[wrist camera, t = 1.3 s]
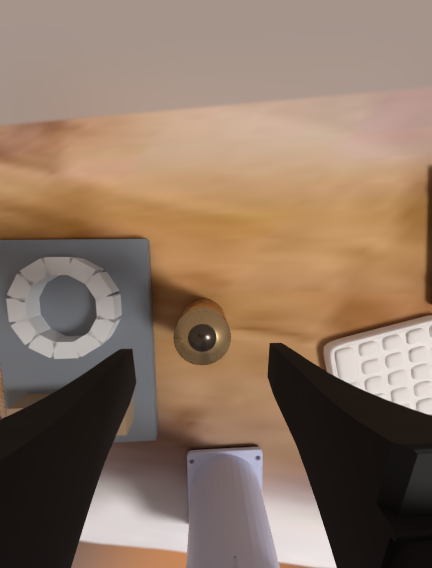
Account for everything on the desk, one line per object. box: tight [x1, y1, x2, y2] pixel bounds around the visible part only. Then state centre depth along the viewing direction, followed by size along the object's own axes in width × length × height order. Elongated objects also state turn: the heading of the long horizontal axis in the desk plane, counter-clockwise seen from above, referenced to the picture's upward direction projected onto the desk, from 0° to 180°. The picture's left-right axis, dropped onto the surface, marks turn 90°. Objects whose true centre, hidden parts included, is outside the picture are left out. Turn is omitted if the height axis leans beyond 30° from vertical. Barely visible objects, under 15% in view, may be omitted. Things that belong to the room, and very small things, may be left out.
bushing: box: [174, 299, 231, 365], centre depth 18 cm, size 4×4×5 cm
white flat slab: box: [323, 315, 432, 415], centre depth 23 cm, size 13×20×2 cm, turn 14°
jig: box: [0, 239, 158, 443], centre depth 19 cm, size 20×14×3 cm
